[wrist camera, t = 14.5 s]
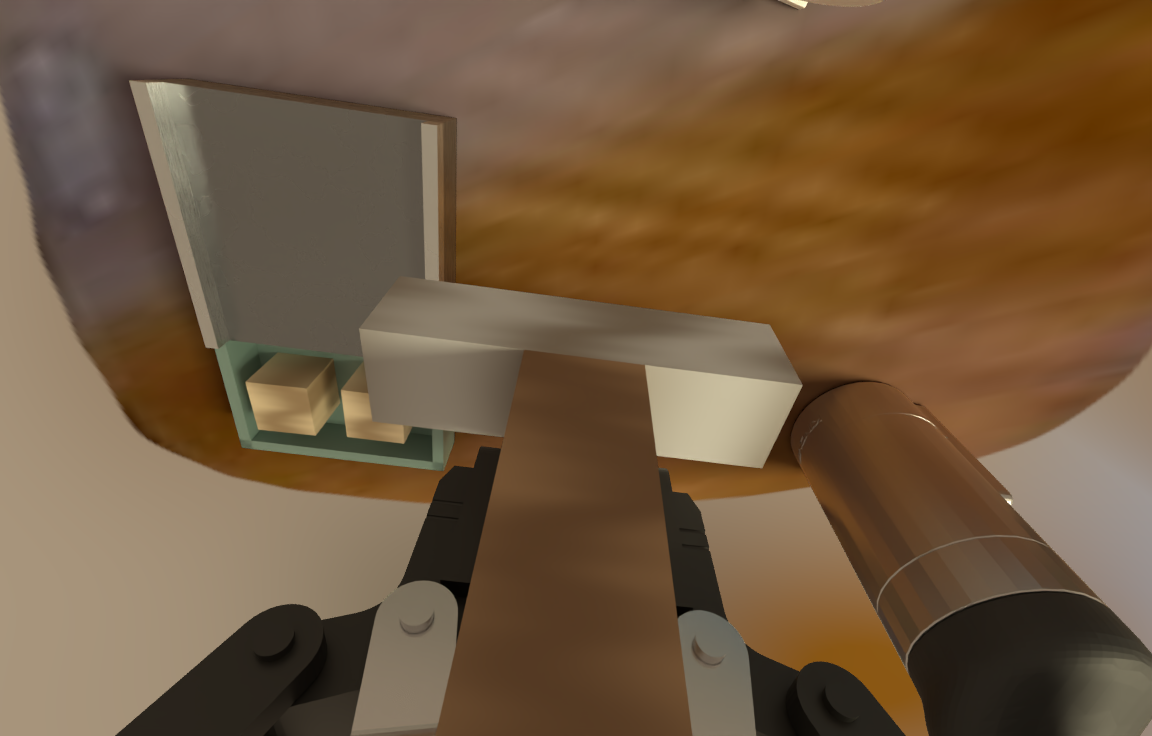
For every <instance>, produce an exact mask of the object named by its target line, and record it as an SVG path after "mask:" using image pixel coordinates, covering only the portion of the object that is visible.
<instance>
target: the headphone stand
mask: <svg viewBox="0 0 1152 736" xmlns="http://www.w3.org/2000/svg"><path fill="white" fill-rule="evenodd" d="M778 1H781V2H783V3H785V4H788V5H790V6H792V7H794V8H797V9H803V8H805V7H806V5H807V3H808V2H811V3H816V4H823V5H831V6H844V7H859V6H868V5H874V4H877V3H880V2H882V1H884V0H778Z"/></svg>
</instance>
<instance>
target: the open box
mask: <svg viewBox="0 0 1152 736" xmlns="http://www.w3.org/2000/svg"><path fill="white" fill-rule="evenodd" d="M129 82H130V86H131V89H132V93H133V96H134V100H135V103H136V107H137V110H138V114H139V117H140V121H141V124H142V127H143V131H144V134H145V138H146V141H147V145H148V148H149V152H150V155H151V159H152V162H153V166H154V169H155V173H156V176H157V180H158V183H159V187H160V190H161V194H162V197H163V201H164V204H165V207H166V211H167V214H168V218H169V221H170V225H171V228H172V232H173V235H174V239H175V242H176V246H177V249H178V253H179V256H180V260H181V263H182V267H183V270H184V274H185V277H186V281H187V284H188V287H189V291H190V294H191V298H192V301H193V305H194V308H195V312H196V315H197V319H198V322H199V326H200V329H201V333H202V336H203V340H204V343H205V347H207V348H215V349H219V348H220V347H222V346H223V345H224V344H226V343H227V342H228V341H230V340H232V341H240V342H248V343H256V344H264V345H272V346H280V347H288V348H296V349H304V350H312V351H320V352H328V353H336V354H344V355H351V356H359V357H363V353H362V346H361V339H360V332H359V328H360V327H361V325H362V324H363V323H364V321H365V320H366V319H367V318H368V316H369V315H370V314H371V312H372V311H373V310H374V309H375V307H376V306H377V305H378V303H379V302H380V301H381V300H382V298H383V297H384V296H385V294H386V293H387V292H388V290H389V289H390V288H391V287H392V285H393V284H394V283H395V281H396V280H397V279H398V278H399V276H404V277H412V278H419V279H427V280H435V281H442V282H450V283H455V277H456V135H457V118H452V117H445V116H438V115H431V114H425V113H418V112H411V111H404V110H397V109H391V108H384V107H377V106H370V105H364V104H357V103H350V102H343V101H336V100H330V99H323V98H316V97H309V96H303V95H296V94H289V93H282V92H275V91H269V90H262V89H255V88H248V87H241V86H235V85H228V84H221V83H214V82H208V81H201V80H194V79H159V80H129Z"/></svg>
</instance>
